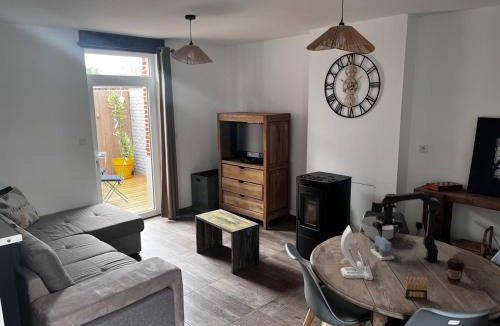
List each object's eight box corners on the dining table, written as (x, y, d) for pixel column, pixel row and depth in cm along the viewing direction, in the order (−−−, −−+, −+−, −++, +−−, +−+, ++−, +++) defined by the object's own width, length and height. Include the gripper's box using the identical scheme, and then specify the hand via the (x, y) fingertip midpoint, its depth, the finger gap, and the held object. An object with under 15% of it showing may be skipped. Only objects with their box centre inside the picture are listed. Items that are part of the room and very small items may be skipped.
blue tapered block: (390, 250, 229) (391, 243, 228) (384, 251, 228) (384, 243, 228) (381, 243, 241) (381, 236, 240) (374, 243, 240) (375, 236, 239)
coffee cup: (462, 287, 196) (464, 265, 193) (444, 283, 200) (446, 261, 197) (462, 280, 203) (465, 258, 200) (446, 276, 207) (448, 255, 205)
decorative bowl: (352, 234, 271) (353, 218, 268) (383, 229, 278) (384, 214, 276) (375, 248, 245) (376, 231, 243) (408, 243, 253) (409, 226, 251)
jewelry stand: (372, 279, 205) (374, 238, 201) (345, 280, 205) (346, 238, 201) (359, 259, 230) (361, 222, 225) (335, 260, 230) (336, 222, 225)
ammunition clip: (405, 298, 187) (406, 276, 184) (404, 296, 189) (405, 275, 186) (427, 299, 185) (429, 278, 183) (426, 297, 187) (427, 276, 185)
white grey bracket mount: (394, 258, 230) (394, 249, 229) (380, 260, 229) (381, 250, 227) (383, 250, 243) (383, 241, 241) (370, 251, 241) (371, 242, 240)
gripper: (394, 208, 241) (393, 231, 244) (368, 211, 238) (367, 233, 241) (404, 213, 230) (403, 237, 233) (377, 216, 227) (376, 240, 230)
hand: (387, 236), depth 234 cm, fingers open, 9 cm apart
